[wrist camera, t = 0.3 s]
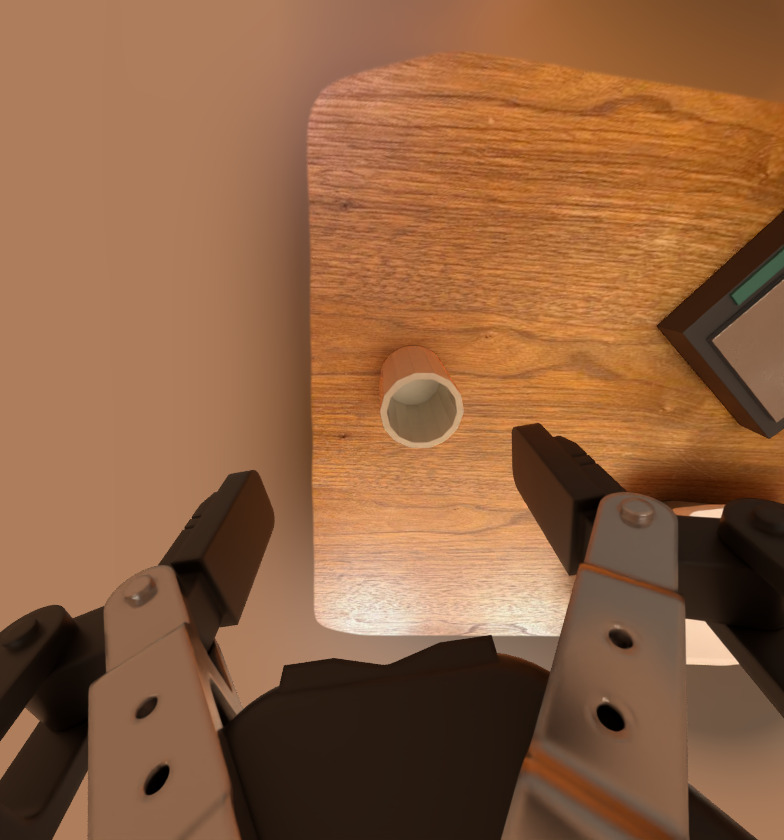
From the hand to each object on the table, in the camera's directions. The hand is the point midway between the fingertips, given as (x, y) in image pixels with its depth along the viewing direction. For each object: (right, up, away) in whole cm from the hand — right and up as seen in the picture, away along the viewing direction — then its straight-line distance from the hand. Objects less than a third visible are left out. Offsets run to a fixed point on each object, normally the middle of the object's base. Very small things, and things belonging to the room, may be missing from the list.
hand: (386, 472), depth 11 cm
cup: (+2, +6, +22) cm, 23 cm away
